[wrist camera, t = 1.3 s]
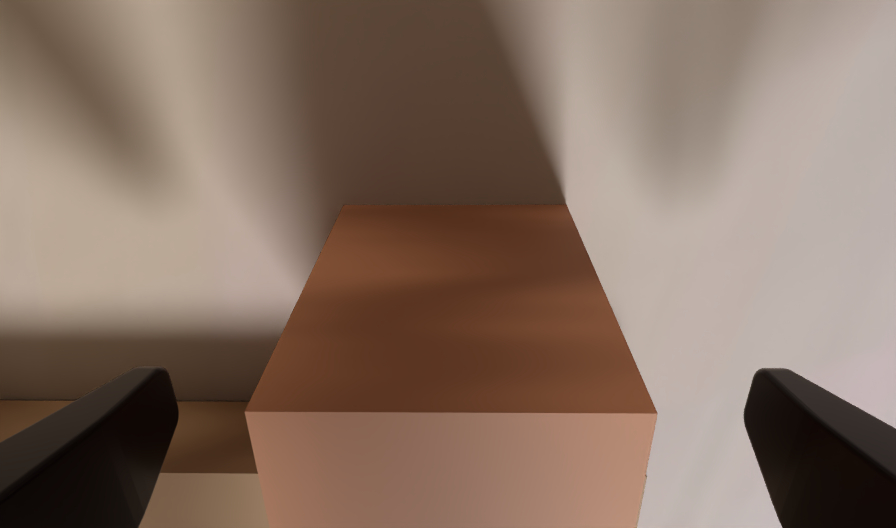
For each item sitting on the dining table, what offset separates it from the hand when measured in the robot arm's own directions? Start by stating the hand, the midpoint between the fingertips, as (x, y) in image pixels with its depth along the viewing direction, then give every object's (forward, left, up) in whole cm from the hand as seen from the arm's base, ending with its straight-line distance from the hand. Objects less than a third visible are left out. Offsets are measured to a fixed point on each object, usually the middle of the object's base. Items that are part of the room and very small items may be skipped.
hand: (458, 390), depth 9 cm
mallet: (0, +3, -3) cm, 4 cm away
